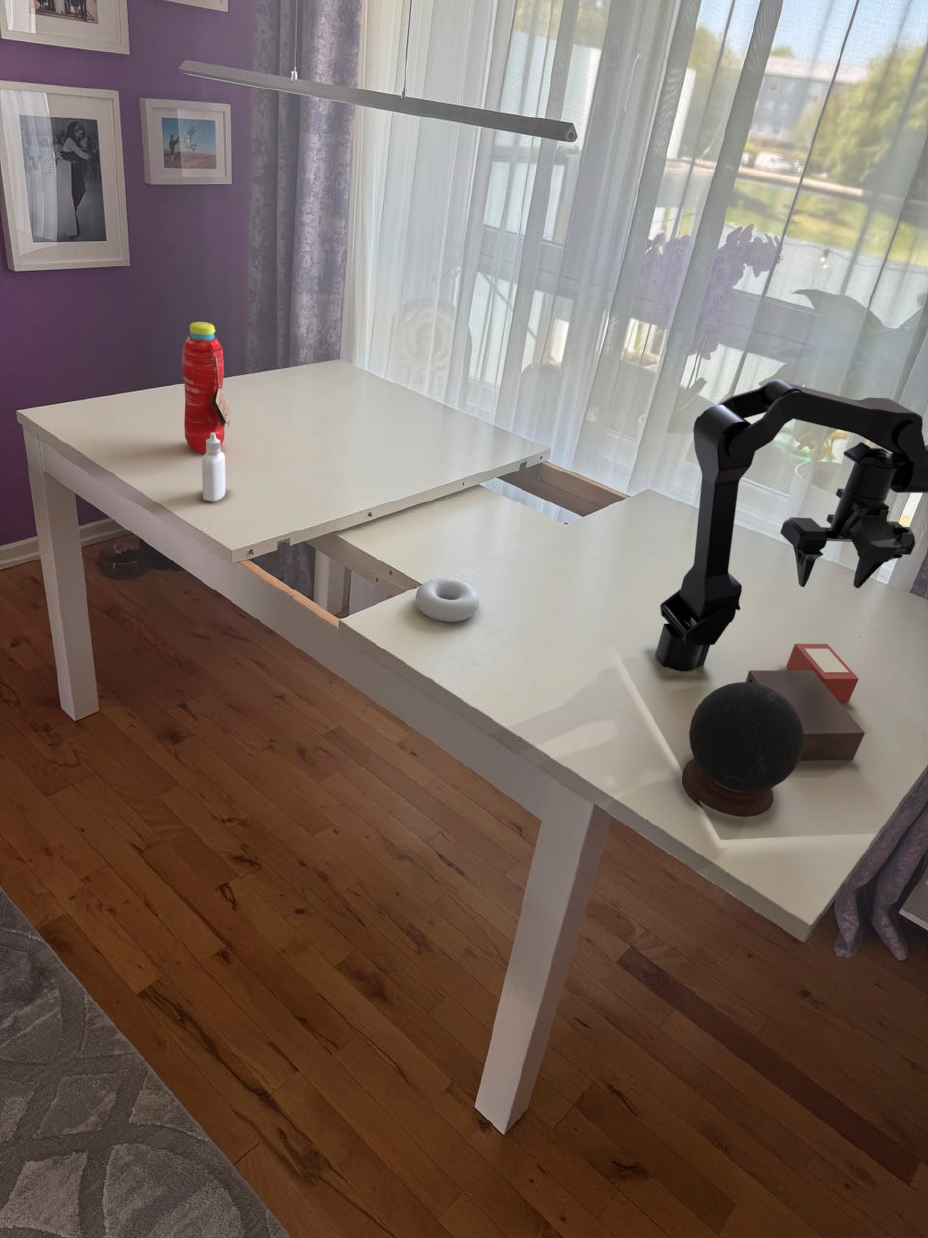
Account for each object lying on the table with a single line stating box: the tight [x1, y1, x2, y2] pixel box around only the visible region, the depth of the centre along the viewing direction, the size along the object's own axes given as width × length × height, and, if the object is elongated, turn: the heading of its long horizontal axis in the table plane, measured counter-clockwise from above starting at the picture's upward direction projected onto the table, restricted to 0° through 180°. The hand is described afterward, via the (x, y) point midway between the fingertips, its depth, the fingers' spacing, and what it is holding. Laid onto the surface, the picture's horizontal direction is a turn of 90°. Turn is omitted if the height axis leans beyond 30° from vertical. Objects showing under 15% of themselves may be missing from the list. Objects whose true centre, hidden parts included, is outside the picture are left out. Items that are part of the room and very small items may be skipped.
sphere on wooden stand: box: [681, 681, 804, 818], centre depth 110 cm, size 13×13×15 cm
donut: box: [414, 577, 480, 623], centre depth 141 cm, size 10×4×10 cm
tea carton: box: [785, 643, 859, 703], centre depth 135 cm, size 6×9×5 cm, turn 10°
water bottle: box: [181, 321, 233, 455], centre depth 176 cm, size 12×8×25 cm, turn 46°
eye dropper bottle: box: [201, 433, 226, 502], centre depth 162 cm, size 4×6×12 cm
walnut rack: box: [744, 669, 866, 762], centre depth 124 cm, size 10×14×5 cm
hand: (828, 586), depth 136 cm, fingers open, 9 cm apart
